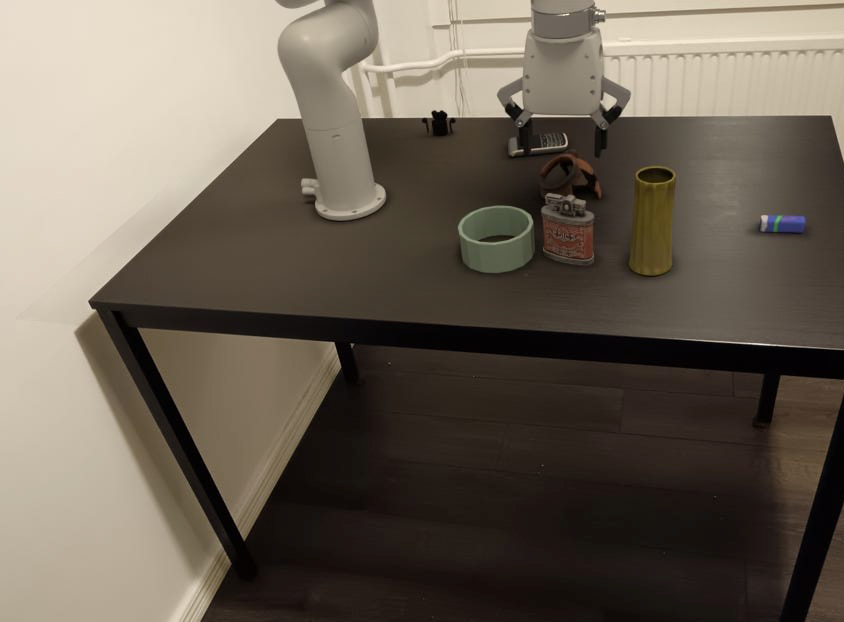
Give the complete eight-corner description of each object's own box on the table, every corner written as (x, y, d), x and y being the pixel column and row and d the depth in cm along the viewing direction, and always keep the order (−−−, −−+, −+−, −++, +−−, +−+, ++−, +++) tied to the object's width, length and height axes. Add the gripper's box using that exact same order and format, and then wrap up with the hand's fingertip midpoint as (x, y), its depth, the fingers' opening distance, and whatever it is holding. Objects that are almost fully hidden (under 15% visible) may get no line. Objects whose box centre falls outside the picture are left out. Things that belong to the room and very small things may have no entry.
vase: (663, 280, 106) (669, 188, 97) (621, 271, 109) (624, 181, 100) (678, 258, 110) (685, 168, 101) (638, 250, 112) (642, 161, 103)
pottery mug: (607, 209, 123) (584, 177, 118) (556, 231, 128) (532, 201, 122) (602, 160, 130) (580, 127, 125) (554, 182, 135) (530, 151, 129)
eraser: (759, 225, 114) (761, 213, 113) (802, 227, 112) (804, 215, 111) (759, 232, 112) (761, 220, 111) (803, 234, 111) (805, 222, 109)
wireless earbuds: (423, 136, 152) (419, 112, 149) (426, 131, 154) (423, 107, 151) (456, 136, 151) (453, 112, 147) (459, 131, 152) (456, 106, 149)
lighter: (597, 256, 112) (598, 196, 106) (588, 268, 110) (587, 207, 104) (549, 245, 116) (547, 186, 110) (539, 256, 114) (536, 197, 108)
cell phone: (568, 152, 140) (568, 145, 139) (509, 158, 140) (508, 151, 139) (565, 138, 144) (565, 131, 143) (507, 144, 145) (507, 137, 144)
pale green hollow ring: (453, 270, 114) (449, 242, 111) (472, 231, 122) (469, 204, 119) (525, 275, 111) (523, 246, 108) (540, 235, 119) (539, 207, 116)
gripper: (638, 10, 92) (630, 142, 103) (500, 11, 96) (507, 137, 108) (631, 31, 87) (624, 167, 98) (485, 31, 91) (495, 162, 102)
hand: (563, 152), depth 103 cm, fingers open, 9 cm apart
